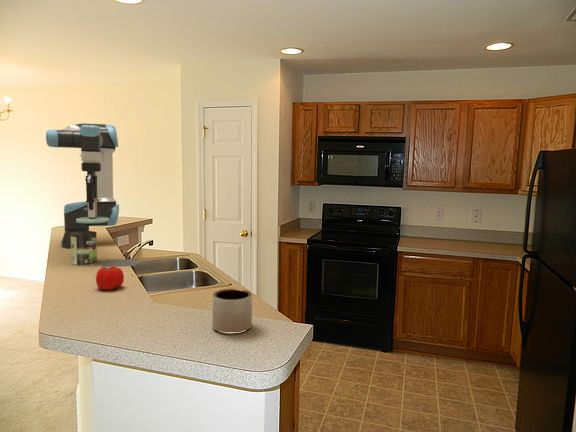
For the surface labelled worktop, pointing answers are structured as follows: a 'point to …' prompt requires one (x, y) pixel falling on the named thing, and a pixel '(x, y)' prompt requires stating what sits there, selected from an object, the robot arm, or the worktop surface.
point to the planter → (232, 310)
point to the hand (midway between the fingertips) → (92, 216)
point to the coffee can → (83, 248)
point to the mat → (119, 262)
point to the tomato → (109, 278)
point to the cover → (93, 219)
